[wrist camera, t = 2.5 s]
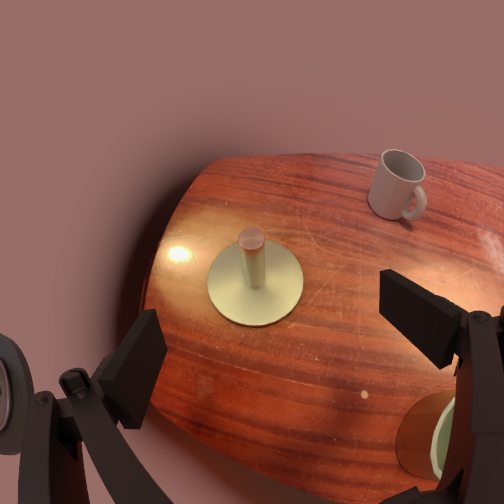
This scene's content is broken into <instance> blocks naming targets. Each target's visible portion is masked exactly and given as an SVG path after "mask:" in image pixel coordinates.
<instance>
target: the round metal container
mask: <svg viewBox="0 0 504 504" xmlns="http://www.w3.org/2000/svg"><path fill="white" fill-rule="evenodd" d="M455 393H456V389H454V390H449V391H445V392H440V393H436V394H432V395H430V396H428V397H426V398H424V399H422V400H421V401H419V402H418V403H417V404H415V405H414V406H413V407H412V408H411V410H410V411H409V412H408V413H407V415H406V416H405V418H404V420H403V422H402V423H401V426H400V428H399V431H398V435H397V440H396V453H397V457H398V460H399V462H400V464H401V466H402V467H403V468H404V469H405V470H406V471H408V472H409V473H410V474H413V475H416V476H419V477H422V478H426V479H429V480H432V481H436V482H439V481H440V479H441V476H442V472H443V468H444V463H445V459H446V454H447V450H448V444H449V439H450V433H451V427H452V420H453V412H454V403H455Z"/></svg>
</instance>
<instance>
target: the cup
mask: <svg viewBox="0 0 504 504" xmlns="http://www.w3.org/2000/svg"><path fill="white" fill-rule="evenodd" d="M424 177H425V170H424V167H423V166H422V164H421V163H420V162H419V161H418V160H417V159H416V158H415V157H414V156H412V155H410V154H408V153H406V152H404V151H401V150H395V149H390V150H387V151H384V153H383V154H382V156H381V159H380V162H379V165H378V168H377V171H376V174H375V177H374V180H373V182H372V185H371V188H370V191H369V195H368V202H369V204H370V207H371V208H372V210H373V211H374V212H375V213H376V214H377V215H379V216H381V217H382V218H385V219H389V220H397V219H400V218H402V217H403V218H404V219H406V220H408V221H416V220H418V219H419V218H420V217H421V216H422V214H423V213H424V210H425V208H426V203H427V198H426V194H425V192H424V190H423V188H422V187H421V186H420V185H421V183H422V181H423V179H424ZM415 196H416V199H417V202H416V207H415V208H414V210H413V211H410V210H409V209H408V208H409V207H410V205H411V203H412V201H413V199H414V197H415Z"/></svg>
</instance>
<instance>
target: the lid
mask: <svg viewBox="0 0 504 504" xmlns="http://www.w3.org/2000/svg"><path fill="white" fill-rule="evenodd" d="M303 285H304V278H303V272H302V269H301V266H300V264H299V262H298V260H297V259H296V257H295V256H294V255H293V254H292V253H291V252H290V251H289V250H288V249H287V248H285V247H284V246H282V245H280V244H278V243H276V242H273V241H270V240H265V237H264V234H263V233H262V232H261V231H260V230H259V229H256V228H247V229H245V230H243V231H242V232H241V233H240V234H239V237H238V242H237V243H234V244H232V245H230V246H229V247H227V248H226V249H224V250H223V251H222V252H221V253H220V254H219V255H218V256H217V257H216V259H215V260H214V262H213V263H212V265H211V267H210V270H209V273H208V278H207V287H208V293H209V296H210V298H211V301H212V303H213V304H214V306H215V308H216V309H217V310H218V311H219V312H220V313H221V314H222V315H223V316H224V317H226V318H227V319H229V320H230V321H232V322H234V323H237V324H240V325H244V326H251V327H258V326H265V325H269V324H273V323H275V322H277V321H279V320H281V319H283V318H284V317H286V316H287V315H288V314H289V313H290V312H291V311H292V310H293V309H294V308H295V306H296V305H297V303H298V301H299V299H300V297H301V294H302V291H303Z"/></svg>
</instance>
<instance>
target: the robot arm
mask: <svg viewBox="0 0 504 504" xmlns="http://www.w3.org/2000/svg"><path fill="white" fill-rule="evenodd" d="M379 313H380V314H381V315H382V316H383V317H384V318H385V319H387V320H388V321H389V322H390V323H391V324H392V325H393V326H394V327H395V328H396V329H397V330H399V331H400V332H401V333H402V334H403V335H404V336H405V337H406V338H407V339H408V340H409V341H410V342H411V343H412V344H413V345H415V346H416V347H417V348H418V349H419V350H420V351H421V352H422V353H423V354H424V355H425V356H426V357H427V358H428V359H429V360H430V361H431V362H432V363H433V364H434V365H435V366H436V367H437V368H439V369H442V368H444V367H446V366H448V365H451V364H452V360H453V356H454V353H455V354H456V355H457V356H459V358H458V362H457V366H456V369H455V373H454V376H456V374H457V378H456V393H455V403H454V412H453V420H452V427H451V433H450V439H449V444H448V450H447V454H446V459H445V463H444V468H443V472H442V476H441V479H440V481H439V484H438V486H437V488H436V490H429V491H423V492H419V490H418V488H417V487H416V486H415V487H413V488H411V489H408V490H406V491H404V492H402V493H400V494H397V495H395V496H393V497H390V498H388V499H385V500H384V501H382V502H380V503H379V504H504V306H502V308H501V312H500V316H496V317H492V316H491V315H490V314H489V313H487V312H484V311H473V312H470V313H469V312H467V311H466V310H464V309H462V308H461V307H459V306H458V305H455V304H454V303H453V302H450V301H449V300H448V299H446V298H444V297H441V296H438V295H435V294H433V293H431V292H430V291H428V290H426V289H425V288H423V287H421V286H419V285H418V284H416V283H414V282H413V281H411V280H409V279H407V278H406V277H404V276H402V275H400V274H399V273H397V272H395V271H393V270H391V269H387V270H383V271H380V300H379ZM166 353H167V347H166V343H165V340H164V337H163V334H162V331H161V327H160V324H159V321H158V317H157V314H156V310H155V309H149V310H143V311H142V312H141V314H140V315H139V317H138V318H137V320H136V321H135V322H134V324H133V326H132V327H131V328H130V330H129V331H128V333H127V334H126V336H125V337H124V339H123V340H122V342H121V344H120V345H119V347H118V348H117V350H116V351H115V353H110V354H109V355H107V356H106V357H105V358H104V359H103V360H102V361H101V363H100V366H98V367H97V369H96V371H95V372H94V373H93V375H92V377H91V378H89V377H88V374H87V372H86V371H85V370H84V369H82V368H74V369H70V370H68V371H66V372H64V373H63V374H62V375H61V377H60V378H59V384H60V386H61V388H62V389H63V391H64V393H65V395H66V396H67V398H63V399H56V398H55V397H54V395H53V394H52V393H51V392H50V391H42V392H38V393H37V394H35V395H34V396H33V397H32V398H31V400H30V402H29V407H28V412H27V417H26V422H25V428H24V434H23V440H22V448H21V456H20V466H19V480H18V504H90V501H89V496H88V490H87V484H86V478H85V471H84V463H83V454H82V444H81V443H82V442H81V441H84V444H85V446H86V448H87V450H88V453H89V455H90V457H91V459H92V461H93V463H94V465H95V467H96V469H97V471H98V473H99V475H100V477H101V479H102V481H103V483H104V485H105V487H106V488H107V490H108V492H109V494H110V495H111V497H112V499H113V501H114V502H115V504H174V503H173V502H172V501H171V500H170V499H169V497H167V495H166V494H165V493H164V492H163V490H162V489H161V488H160V487H159V486H158V484H157V483H156V482H155V481H154V479H153V478H152V477H151V476H150V474H149V473H148V472H147V470H146V469H145V468H144V466H143V465H142V464H141V462H140V461H139V460H138V458H137V457H136V455H135V454H134V452H133V451H132V450H131V448H130V447H129V445H128V444H127V442H126V441H125V439H124V438H123V436H122V434H121V433H120V431H119V430H118V428H117V426H116V425H117V423H118V421H119V420H120V422H121V424H122V425H123V427H124V429H140V428H141V425H142V422H143V419H144V416H145V413H146V410H147V407H148V404H149V401H150V398H151V395H152V392H153V389H154V386H155V384H156V381H157V378H158V375H159V372H160V369H161V367H162V364H163V361H164V358H165V356H166ZM12 413H13V388H12V382H11V377H10V374H9V371H8V368H7V366H6V364H5V362H4V360H3V359H2V358H1V357H0V433H2V432H4V431H5V430H6V429H7V428H8V426H9V424H10V421H11V418H12Z"/></svg>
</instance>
